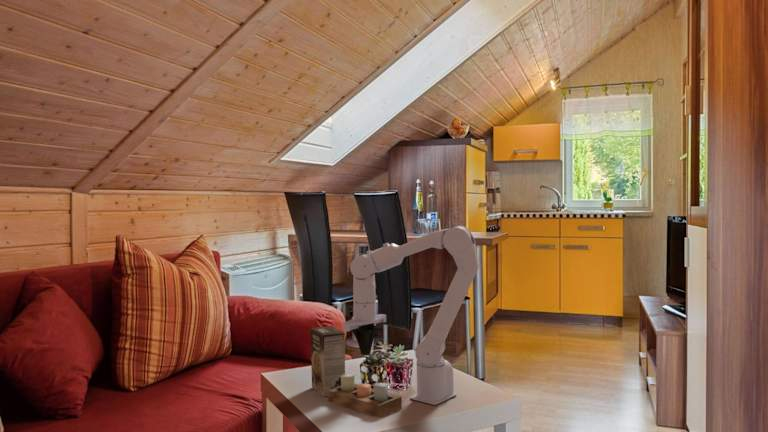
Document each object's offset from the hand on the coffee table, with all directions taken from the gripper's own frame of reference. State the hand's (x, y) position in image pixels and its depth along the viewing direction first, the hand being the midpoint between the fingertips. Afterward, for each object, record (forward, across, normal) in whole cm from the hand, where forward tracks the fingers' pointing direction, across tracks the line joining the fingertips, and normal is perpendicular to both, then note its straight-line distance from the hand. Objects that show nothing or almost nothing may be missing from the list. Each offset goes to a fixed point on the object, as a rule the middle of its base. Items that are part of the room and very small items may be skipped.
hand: (365, 354), depth 151 cm
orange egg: (+10, +6, +5) cm, 12 cm away
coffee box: (+11, +4, -10) cm, 15 cm away
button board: (+10, +6, +5) cm, 13 cm away
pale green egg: (+8, +6, -1) cm, 10 cm away
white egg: (+8, +6, +11) cm, 15 cm away
